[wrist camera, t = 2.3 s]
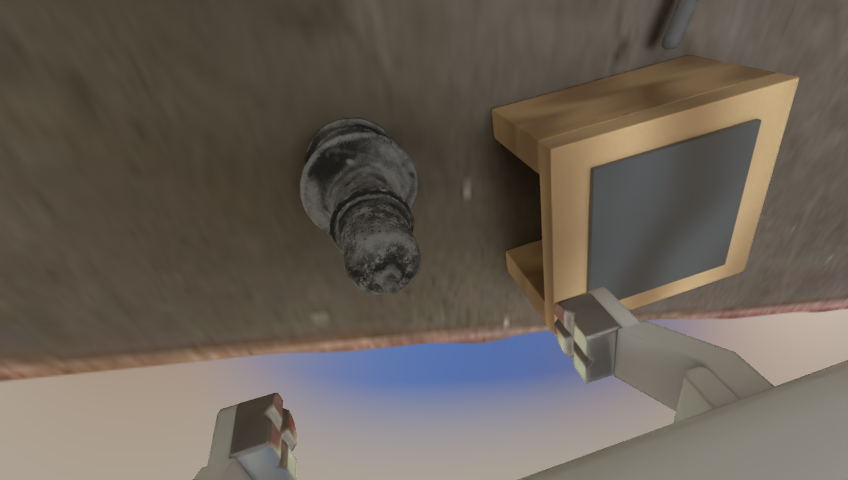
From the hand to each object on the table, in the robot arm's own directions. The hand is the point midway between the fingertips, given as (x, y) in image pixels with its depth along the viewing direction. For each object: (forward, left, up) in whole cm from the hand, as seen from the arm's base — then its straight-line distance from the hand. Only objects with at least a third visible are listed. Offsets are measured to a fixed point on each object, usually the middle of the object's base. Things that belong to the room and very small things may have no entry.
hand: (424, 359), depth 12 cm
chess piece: (0, 0, -15) cm, 15 cm away
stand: (+15, -5, -15) cm, 22 cm away
